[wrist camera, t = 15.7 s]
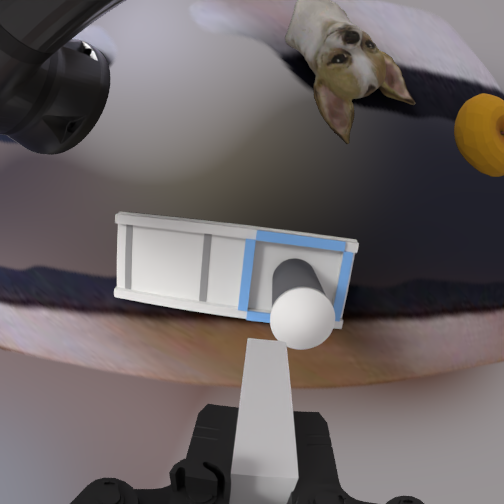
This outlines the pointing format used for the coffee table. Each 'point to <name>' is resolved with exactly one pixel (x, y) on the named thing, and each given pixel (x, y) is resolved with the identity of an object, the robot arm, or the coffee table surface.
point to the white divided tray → (221, 264)
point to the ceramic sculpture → (341, 62)
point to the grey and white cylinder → (299, 306)
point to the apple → (482, 133)
